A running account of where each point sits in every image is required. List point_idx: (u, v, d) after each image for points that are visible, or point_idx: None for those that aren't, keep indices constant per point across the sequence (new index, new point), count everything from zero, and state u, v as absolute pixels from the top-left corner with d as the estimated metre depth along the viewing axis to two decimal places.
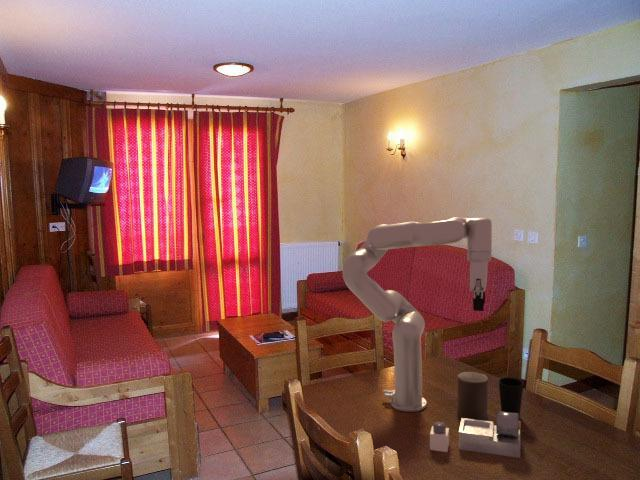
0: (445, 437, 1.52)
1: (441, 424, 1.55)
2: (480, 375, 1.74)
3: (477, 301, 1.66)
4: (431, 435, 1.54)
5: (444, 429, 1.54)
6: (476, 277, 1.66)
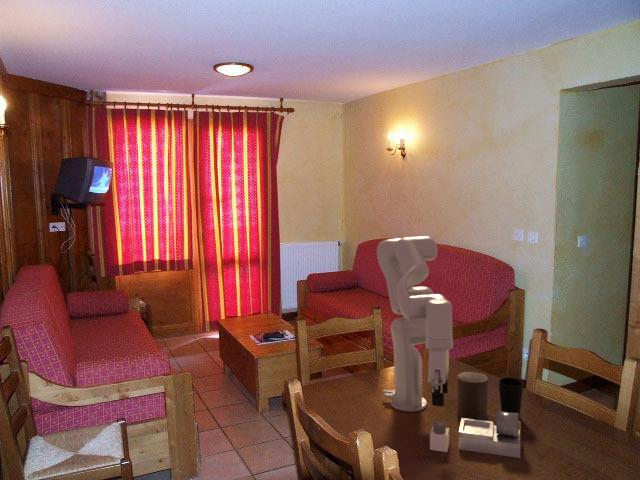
0: (445, 437, 1.52)
1: (441, 424, 1.55)
2: (479, 375, 1.74)
3: (436, 396, 1.48)
4: (431, 435, 1.54)
5: (444, 429, 1.54)
6: (435, 368, 1.48)
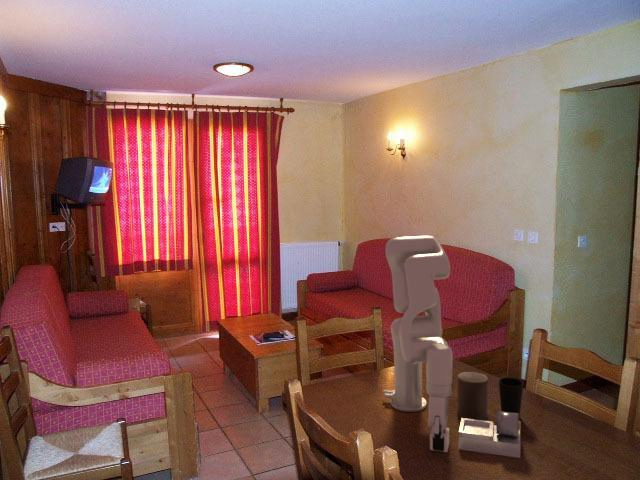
0: (445, 437, 1.52)
1: None
2: (480, 375, 1.74)
3: (436, 441, 1.52)
4: (431, 435, 1.54)
5: (444, 429, 1.54)
6: (435, 414, 1.50)
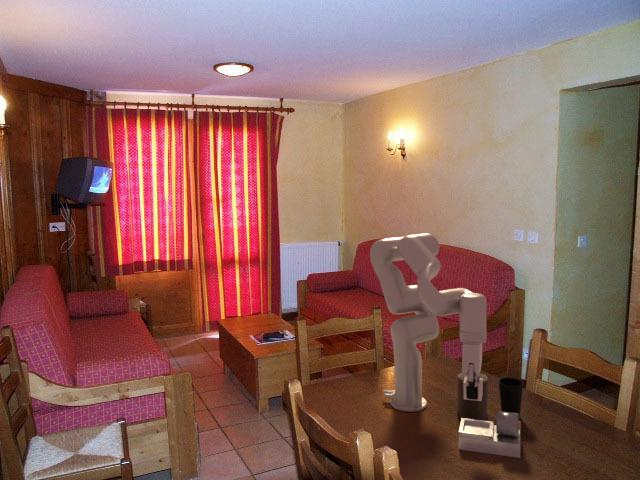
0: (479, 386, 1.51)
1: None
2: (479, 375, 1.74)
3: (470, 389, 1.51)
4: (465, 384, 1.53)
5: (478, 378, 1.53)
6: (469, 361, 1.49)
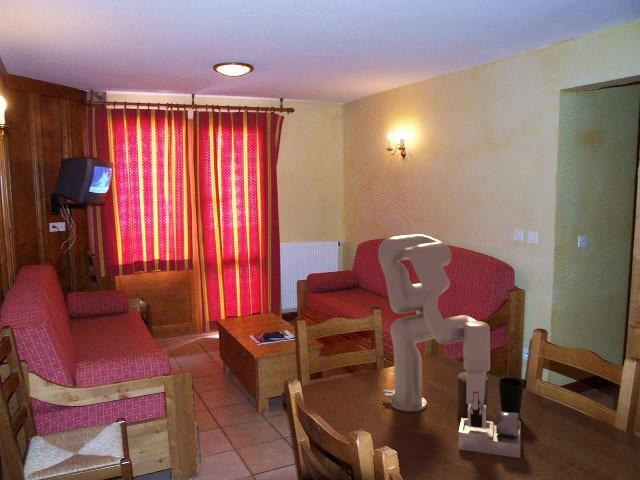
0: (483, 413, 1.52)
1: None
2: None
3: (475, 417, 1.52)
4: (469, 412, 1.54)
5: (482, 406, 1.54)
6: (473, 390, 1.50)
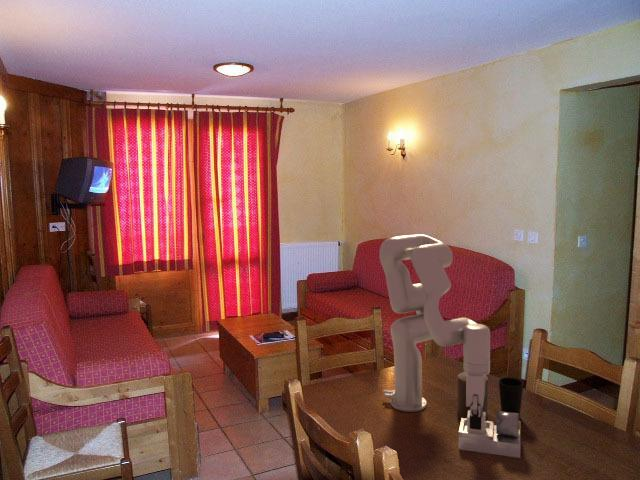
0: (483, 420, 1.53)
1: None
2: None
3: (474, 420, 1.51)
4: (468, 419, 1.54)
5: (481, 413, 1.54)
6: (473, 393, 1.50)
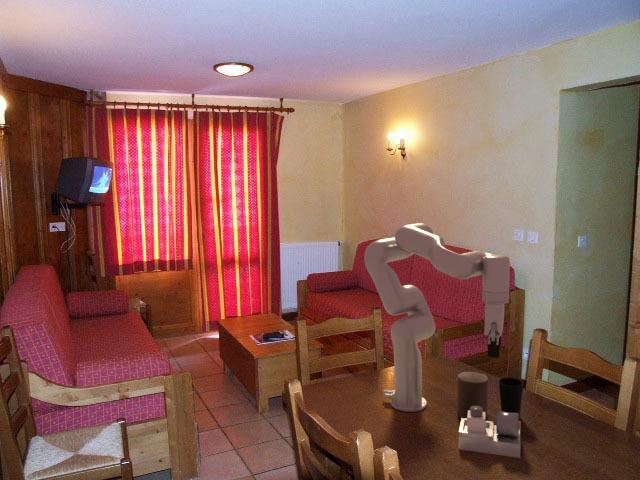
0: (483, 420, 1.53)
1: (478, 408, 1.56)
2: (479, 375, 1.74)
3: (492, 347, 1.51)
4: (468, 419, 1.54)
5: (481, 413, 1.54)
6: (491, 321, 1.51)
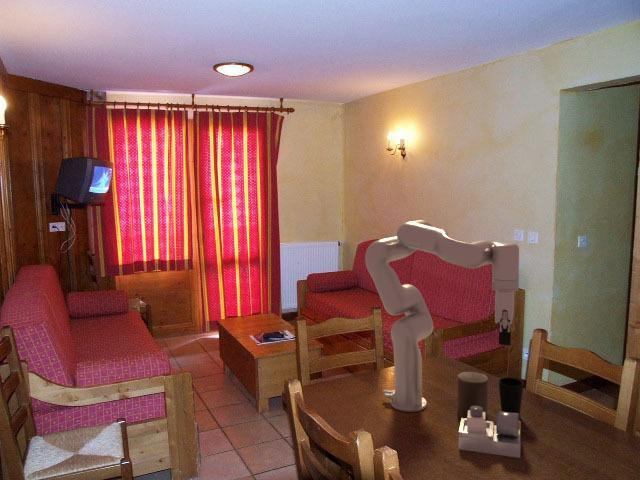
0: (483, 420, 1.53)
1: (478, 408, 1.56)
2: (480, 375, 1.74)
3: (503, 335, 1.52)
4: (468, 419, 1.54)
5: (481, 413, 1.54)
6: (502, 308, 1.52)
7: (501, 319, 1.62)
